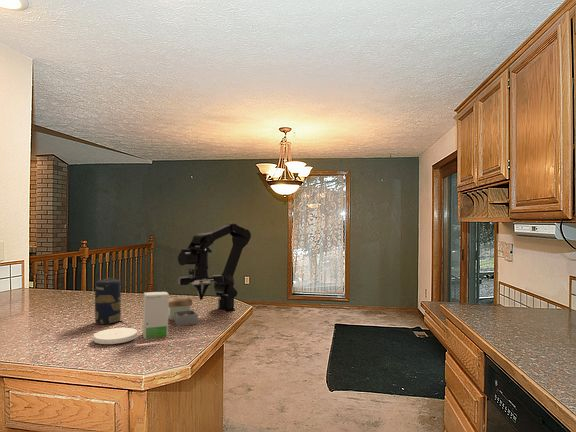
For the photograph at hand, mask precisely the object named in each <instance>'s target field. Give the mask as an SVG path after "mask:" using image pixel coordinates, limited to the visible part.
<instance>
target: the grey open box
mask: <svg viewBox="0 0 576 432" xmlns="http://www.w3.org/2000/svg"><path fill="white" fill-rule="evenodd" d="M185 314H188V315H185ZM198 315H199V314H198V313H197V312H196V311H195V310H191V309H190V311H179V312H175V319H174V322H175V324H176V325H177V326H178V327H181V326H188V325H190V326H191V325H198V322H199V321H198V317H199V316H198Z"/></svg>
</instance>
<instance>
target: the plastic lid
mask: <svg viewBox="0 0 576 432" xmlns="http://www.w3.org/2000/svg"><path fill="white" fill-rule="evenodd" d="M137 337H138V330H137V329H135V328H132V327H130V328H129V327H115V328H109V329H108V328H107V329H104V330H100V331H98V332H95V333H94V334H93V342H94V343H96V344H101V345H102V344H103V345H115V344H121V343H122V344H123V343H127V342H131V341H133V340H135V339H136V338H137Z"/></svg>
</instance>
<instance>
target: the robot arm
mask: <svg viewBox="0 0 576 432" xmlns="http://www.w3.org/2000/svg"><path fill="white" fill-rule="evenodd" d="M227 235H229V236H230V237H232V238H231V241H232V247H231V249H230V252H229V255H228V258H227V261H226V264H225V266H224V269H223V272H222V273H221V274H212V275H211V276H209V254H210V253H213V251H212V249H210V248H209V247H211V246H212V245H213V244H214V242H215V241H217V240H219V239H221V238H223V237H225V236H227ZM251 237H252V234H251V232H250V230H249V229H246V228H244V227H241V226H239V225H238V224H237V223H234V222H228V223H227V222H226V223H225V224H224V225H221V226H220V227H218V228H215V229H213V230H211V231H208V232H202V233H197V234H194V235H193V237H192V239H191V242H190V243H189V245H188V247H187V248H182V249H180V252H179V254H178V256H177V261H178V264H179V265H180V266H183V267H185V266H190V265H192V266H193V265H194V266H193V267H188V268H187V276H186V275H185V276H178V279H177V284H178V285H179V286H188V285H190V283H191V286H193V287H194V288H195V289H196V293H197V295H198V299H199V300H200V301H201V300H202V301H203V299H204V296H205V294H206V291H207V289H208V287H209V286H211V285H212V283H211V282H213V284H214V285H213V288H214V291H215V294H216V296H217V297H218V299H217V309H218V310H224V311H225V312H228V311H230V312H231V311H235V310H236V309H235V298H236V297H237V296H238V291H237V289H235V287H234V285H235V281H234V274H235V272H236V269H237V267H238V263H239V260H240V258H241V255H242V252H243V249H244V248H245V247H246V246H247V245H248V244H249V241H250V240H251Z"/></svg>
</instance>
